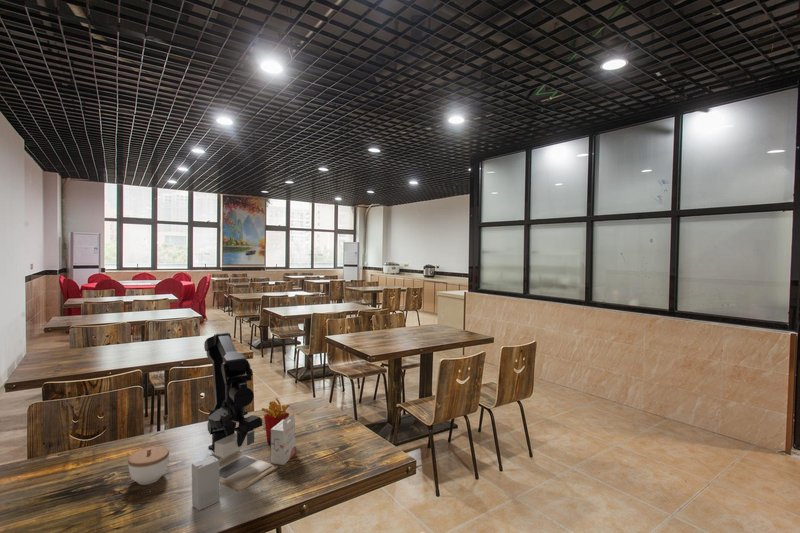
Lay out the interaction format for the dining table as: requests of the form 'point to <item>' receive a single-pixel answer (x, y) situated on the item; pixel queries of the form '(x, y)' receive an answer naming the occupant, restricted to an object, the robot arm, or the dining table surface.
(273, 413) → the french fries
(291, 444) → the ink cartridge box
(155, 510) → the dining table surface
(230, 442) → the tall cream pillar
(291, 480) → the dining table surface
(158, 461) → the lidded jar
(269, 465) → the picture frame
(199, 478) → the skincare box
